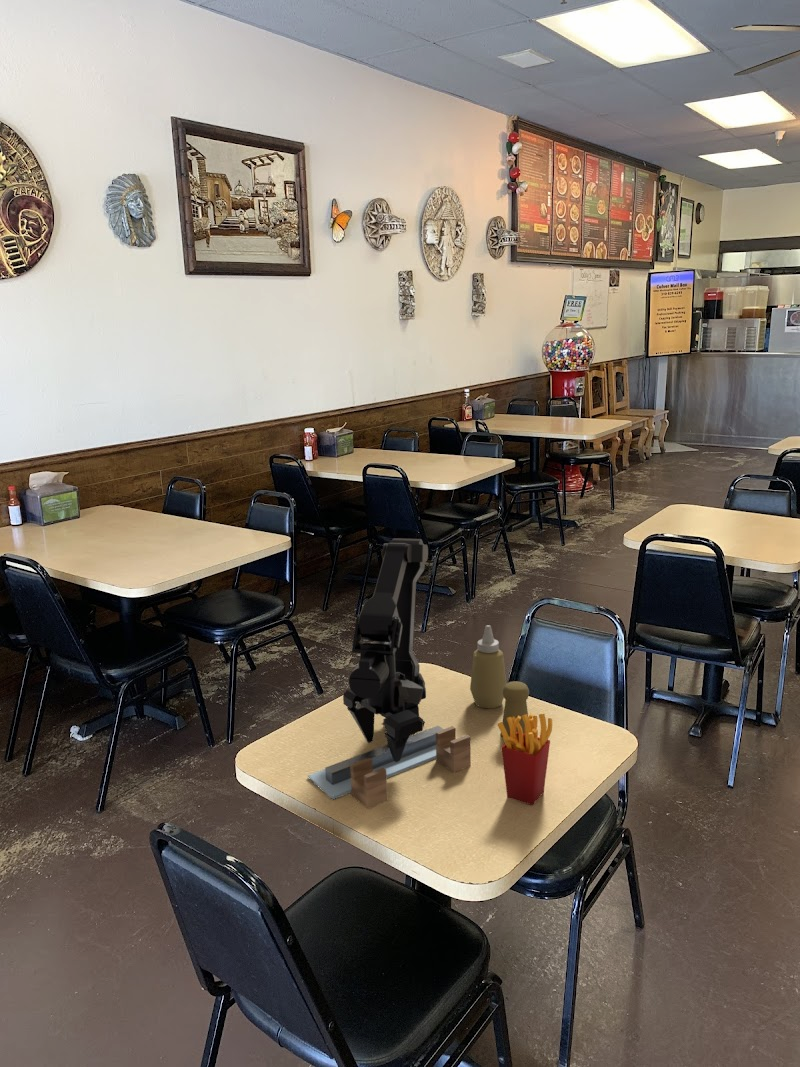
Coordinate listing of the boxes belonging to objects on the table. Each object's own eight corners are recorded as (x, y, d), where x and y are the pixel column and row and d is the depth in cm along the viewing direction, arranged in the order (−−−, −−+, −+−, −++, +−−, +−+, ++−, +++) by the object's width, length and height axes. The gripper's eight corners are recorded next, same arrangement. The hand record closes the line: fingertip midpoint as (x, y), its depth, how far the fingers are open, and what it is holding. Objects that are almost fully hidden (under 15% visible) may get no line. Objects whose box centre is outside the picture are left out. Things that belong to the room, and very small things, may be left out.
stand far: (436, 760, 152) (435, 732, 151) (452, 754, 155) (452, 726, 153) (454, 772, 148) (453, 743, 147) (470, 765, 150) (470, 736, 149)
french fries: (536, 809, 136) (536, 729, 132) (492, 796, 140) (491, 718, 137) (555, 784, 143) (556, 708, 140) (512, 773, 147) (513, 698, 144)
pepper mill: (529, 727, 164) (530, 677, 162) (531, 741, 158) (532, 690, 156) (500, 726, 165) (500, 677, 162) (501, 741, 159) (500, 690, 156)
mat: (307, 778, 148) (307, 775, 148) (436, 729, 164) (436, 727, 164) (332, 799, 141) (332, 796, 141) (463, 747, 157) (463, 744, 157)
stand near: (351, 795, 142) (350, 764, 141) (370, 787, 144) (369, 757, 143) (368, 808, 138) (366, 777, 136) (387, 800, 140) (386, 770, 138)
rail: (332, 785, 144) (331, 773, 144) (325, 779, 146) (325, 767, 146) (445, 741, 159) (445, 730, 158) (438, 736, 160) (438, 725, 160)
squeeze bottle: (510, 697, 178) (510, 621, 174) (502, 713, 171) (502, 634, 166) (475, 693, 181) (474, 618, 176) (466, 709, 173) (465, 631, 169)
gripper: (445, 679, 145) (447, 757, 148) (387, 649, 159) (390, 720, 163) (395, 696, 138) (398, 777, 142) (339, 663, 153) (343, 737, 157)
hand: (383, 751), depth 151 cm, fingers open, 9 cm apart
